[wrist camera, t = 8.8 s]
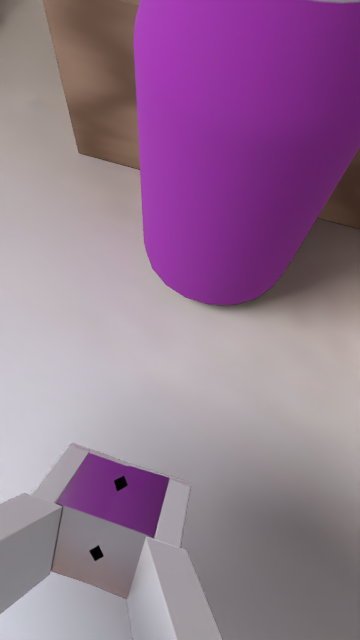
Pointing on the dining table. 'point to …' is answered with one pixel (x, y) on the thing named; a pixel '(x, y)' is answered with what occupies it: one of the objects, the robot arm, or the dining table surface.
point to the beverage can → (241, 134)
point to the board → (129, 90)
